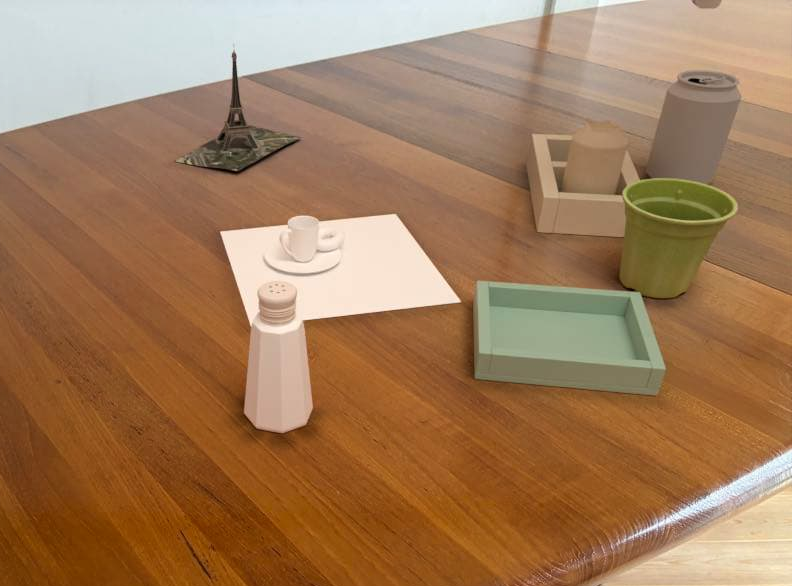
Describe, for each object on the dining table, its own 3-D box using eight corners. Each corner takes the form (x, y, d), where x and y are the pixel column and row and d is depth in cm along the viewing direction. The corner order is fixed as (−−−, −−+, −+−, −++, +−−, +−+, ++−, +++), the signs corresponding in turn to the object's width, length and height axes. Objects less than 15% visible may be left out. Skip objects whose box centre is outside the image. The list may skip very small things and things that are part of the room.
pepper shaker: (317, 431, 62) (321, 305, 55) (246, 436, 62) (241, 311, 55) (308, 389, 66) (310, 267, 60) (241, 394, 66) (236, 272, 59)
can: (638, 167, 101) (666, 65, 94) (704, 170, 100) (737, 67, 92) (649, 191, 95) (679, 85, 88) (718, 195, 94) (755, 87, 87)
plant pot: (719, 312, 74) (752, 223, 69) (609, 305, 75) (633, 217, 70) (693, 264, 81) (721, 180, 76) (593, 258, 83) (614, 175, 77)
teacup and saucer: (338, 237, 88) (339, 201, 85) (358, 271, 82) (360, 234, 79) (257, 245, 87) (256, 209, 84) (272, 281, 81) (271, 243, 78)
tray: (632, 317, 74) (640, 291, 72) (657, 396, 64) (666, 369, 63) (473, 304, 76) (477, 280, 75) (474, 379, 67) (478, 352, 65)
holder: (613, 169, 101) (621, 137, 98) (639, 238, 86) (650, 202, 83) (526, 165, 103) (531, 133, 100) (536, 232, 88) (543, 197, 85)
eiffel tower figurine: (238, 176, 102) (234, 64, 94) (174, 161, 107) (165, 53, 99) (301, 140, 112) (302, 35, 104) (240, 127, 116) (237, 26, 108)
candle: (549, 218, 90) (568, 127, 84) (565, 200, 94) (584, 112, 88) (600, 229, 88) (623, 137, 82) (614, 211, 91) (638, 121, 85)
